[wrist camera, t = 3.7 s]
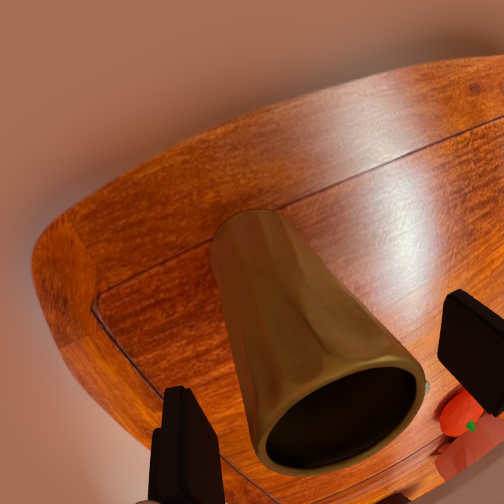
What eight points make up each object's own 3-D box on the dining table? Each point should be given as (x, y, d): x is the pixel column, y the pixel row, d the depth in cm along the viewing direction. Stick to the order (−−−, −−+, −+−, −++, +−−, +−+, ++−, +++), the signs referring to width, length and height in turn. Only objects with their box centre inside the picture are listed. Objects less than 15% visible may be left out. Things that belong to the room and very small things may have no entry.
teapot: (409, 461, 37) (445, 519, 24) (459, 409, 34) (507, 466, 21) (464, 449, 44) (494, 490, 30) (502, 406, 41) (537, 445, 28)
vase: (310, 276, 22) (430, 429, 8) (229, 308, 21) (274, 499, 8) (285, 194, 19) (445, 299, 6) (194, 229, 19) (195, 408, 6)
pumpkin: (477, 386, 33) (501, 411, 27) (440, 424, 35) (461, 451, 29) (466, 372, 31) (494, 400, 25) (425, 415, 32) (448, 446, 26)
